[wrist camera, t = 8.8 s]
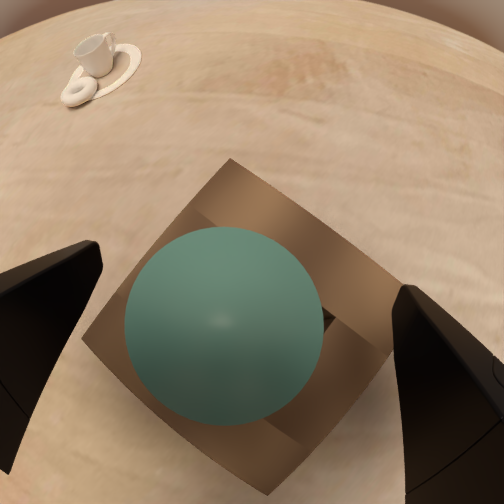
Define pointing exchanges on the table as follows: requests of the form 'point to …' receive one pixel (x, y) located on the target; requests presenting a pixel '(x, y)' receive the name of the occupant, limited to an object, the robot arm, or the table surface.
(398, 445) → the table surface
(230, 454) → the socket block
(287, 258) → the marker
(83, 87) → the teacup and saucer
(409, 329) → the robot arm
